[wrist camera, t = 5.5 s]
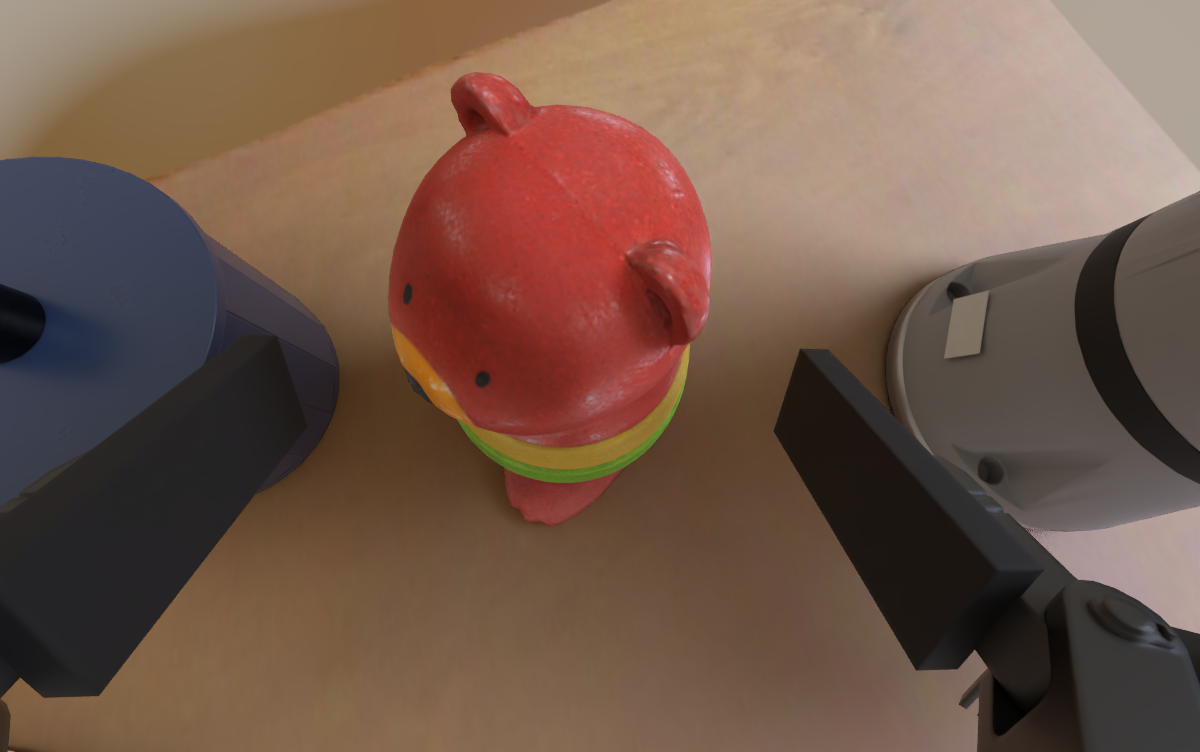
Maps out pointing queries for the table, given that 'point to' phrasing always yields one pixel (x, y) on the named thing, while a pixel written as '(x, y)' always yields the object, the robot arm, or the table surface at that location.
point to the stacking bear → (551, 291)
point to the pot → (283, 347)
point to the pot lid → (93, 308)
